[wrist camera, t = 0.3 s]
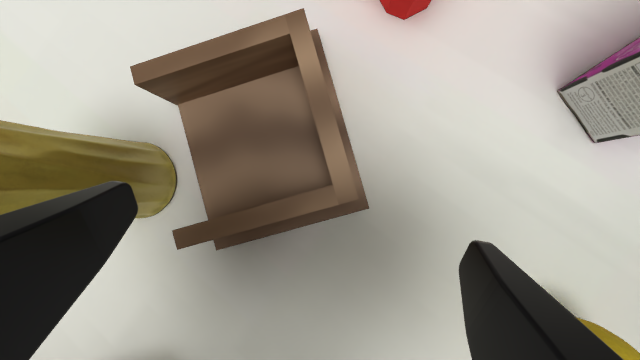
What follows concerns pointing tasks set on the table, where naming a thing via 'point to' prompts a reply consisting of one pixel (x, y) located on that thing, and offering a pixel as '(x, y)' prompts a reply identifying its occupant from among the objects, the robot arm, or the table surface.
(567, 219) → the table surface
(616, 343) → the lemon
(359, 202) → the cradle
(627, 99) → the candy bar box
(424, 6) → the french fries
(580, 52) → the table surface
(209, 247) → the table surface
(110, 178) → the vase
